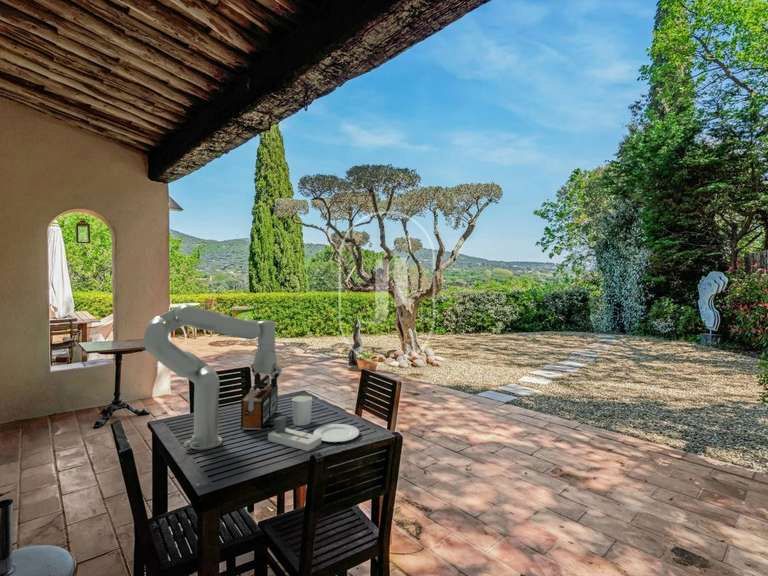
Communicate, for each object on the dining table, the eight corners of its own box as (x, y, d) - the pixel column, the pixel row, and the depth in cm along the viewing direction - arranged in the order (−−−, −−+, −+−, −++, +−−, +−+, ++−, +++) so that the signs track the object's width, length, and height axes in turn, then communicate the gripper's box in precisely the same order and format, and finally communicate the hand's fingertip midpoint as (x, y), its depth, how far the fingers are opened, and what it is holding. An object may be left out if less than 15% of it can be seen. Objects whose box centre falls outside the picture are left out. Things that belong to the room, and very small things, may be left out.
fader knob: (279, 433, 175) (279, 420, 175) (273, 432, 177) (274, 418, 176) (286, 430, 180) (286, 416, 180) (281, 428, 181) (281, 415, 181)
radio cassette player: (261, 432, 185) (262, 389, 184) (239, 432, 185) (239, 389, 184) (278, 411, 214) (278, 374, 213) (258, 411, 214) (258, 373, 213)
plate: (325, 449, 168) (325, 445, 168) (305, 433, 185) (306, 429, 185) (368, 439, 180) (368, 435, 180) (346, 424, 197) (346, 420, 197)
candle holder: (313, 425, 195) (314, 400, 195) (293, 427, 191) (293, 402, 191) (309, 418, 204) (310, 394, 204) (290, 420, 201) (290, 396, 200)
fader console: (308, 451, 166) (308, 443, 165) (267, 440, 176) (268, 433, 175) (321, 443, 174) (321, 436, 173) (281, 433, 184) (282, 426, 183)
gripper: (245, 347, 182) (245, 384, 183) (275, 351, 175) (274, 390, 175) (257, 344, 189) (257, 381, 189) (286, 348, 181) (286, 386, 182)
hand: (265, 385), depth 182 cm, fingers open, 9 cm apart
